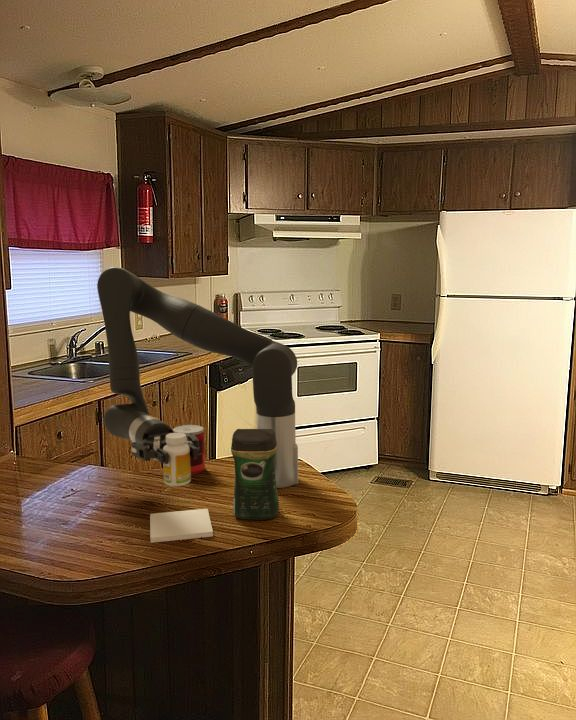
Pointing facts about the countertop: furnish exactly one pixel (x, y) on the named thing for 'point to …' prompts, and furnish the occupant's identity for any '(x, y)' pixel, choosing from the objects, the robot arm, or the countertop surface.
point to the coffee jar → (255, 474)
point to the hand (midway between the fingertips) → (181, 456)
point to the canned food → (198, 431)
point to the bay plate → (180, 525)
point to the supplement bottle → (177, 460)
